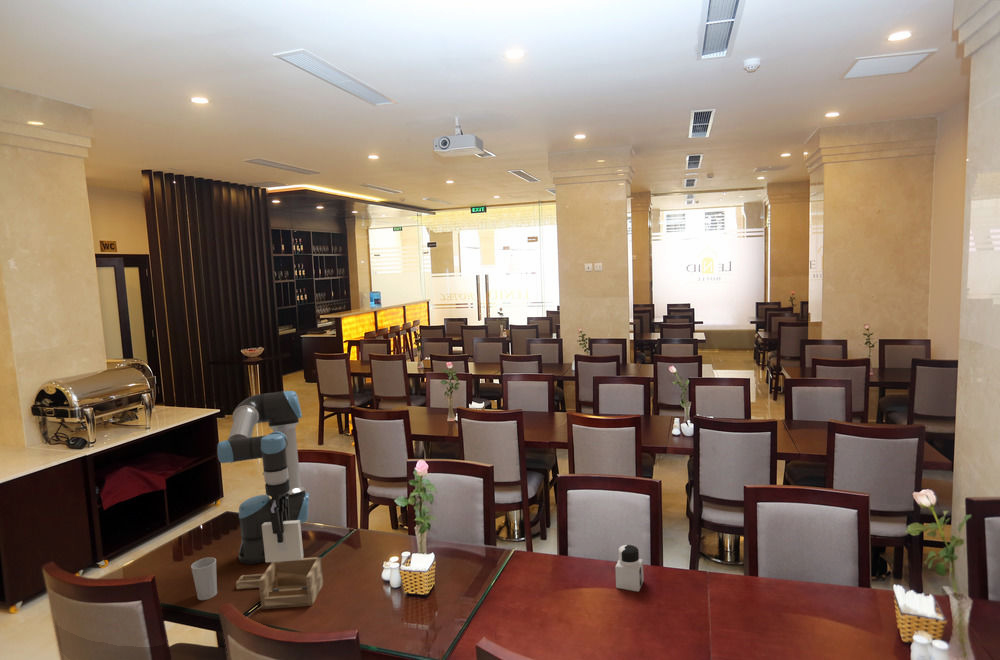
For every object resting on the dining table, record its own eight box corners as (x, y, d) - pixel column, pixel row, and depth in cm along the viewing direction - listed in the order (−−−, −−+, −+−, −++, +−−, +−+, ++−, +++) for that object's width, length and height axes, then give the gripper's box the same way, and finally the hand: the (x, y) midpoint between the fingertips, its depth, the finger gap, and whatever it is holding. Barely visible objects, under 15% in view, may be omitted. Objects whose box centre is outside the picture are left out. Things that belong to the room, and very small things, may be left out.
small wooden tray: (242, 581, 216) (241, 575, 216) (281, 578, 217) (281, 572, 216) (236, 589, 211) (235, 582, 211) (277, 586, 212) (276, 579, 211)
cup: (209, 602, 204) (205, 569, 203) (189, 600, 205) (185, 568, 204) (224, 589, 212) (221, 557, 210) (205, 588, 213) (201, 557, 212)
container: (643, 580, 200) (642, 544, 199) (639, 592, 193) (637, 554, 192) (621, 576, 204) (619, 540, 202) (615, 588, 197) (614, 551, 195)
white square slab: (268, 558, 200) (264, 522, 198) (303, 556, 200) (300, 519, 199) (265, 562, 197) (261, 525, 196) (301, 560, 198) (297, 523, 196)
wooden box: (275, 586, 211) (273, 560, 210) (323, 583, 212) (320, 556, 211) (261, 609, 197) (258, 581, 196) (312, 605, 198) (309, 577, 197)
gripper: (273, 473, 203) (280, 538, 206) (256, 490, 188) (264, 560, 190) (295, 472, 204) (302, 537, 206) (280, 488, 188) (287, 558, 191)
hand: (283, 548), depth 198 cm, fingers closed on white square slab, 2 cm apart
